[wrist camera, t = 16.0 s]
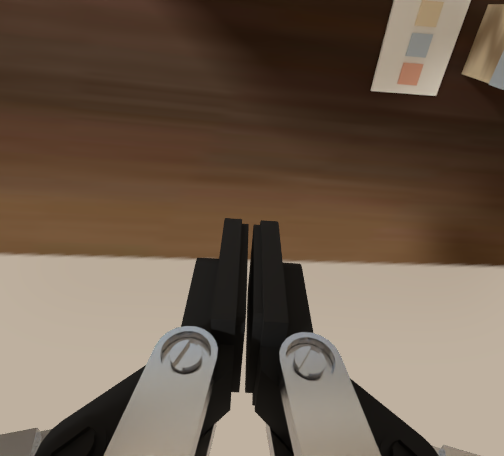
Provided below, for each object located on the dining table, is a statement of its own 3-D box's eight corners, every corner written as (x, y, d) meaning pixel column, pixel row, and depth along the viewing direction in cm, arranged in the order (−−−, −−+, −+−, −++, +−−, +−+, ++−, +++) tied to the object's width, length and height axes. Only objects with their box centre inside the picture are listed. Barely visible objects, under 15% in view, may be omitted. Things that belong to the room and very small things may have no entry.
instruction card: (397, -15, 30) (399, -15, 30) (472, -8, 30) (475, -8, 30) (370, 90, 35) (371, 91, 35) (434, 95, 36) (436, 96, 35)
